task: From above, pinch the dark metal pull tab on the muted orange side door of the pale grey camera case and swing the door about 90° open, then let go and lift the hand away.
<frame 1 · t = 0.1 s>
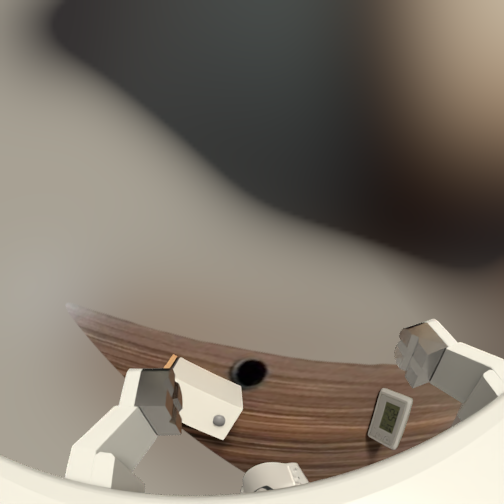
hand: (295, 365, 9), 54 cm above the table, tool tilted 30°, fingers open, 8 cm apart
side door: (158, 384, 51), point 10 cm above the table, hinge at 0.0°
camera case: (201, 387, 61), on the table
digital clock: (380, 411, 63), on the table
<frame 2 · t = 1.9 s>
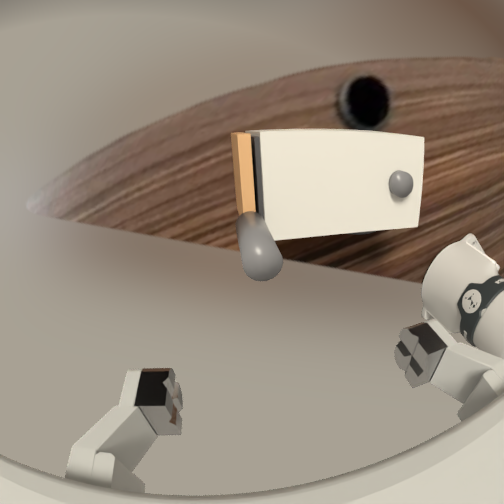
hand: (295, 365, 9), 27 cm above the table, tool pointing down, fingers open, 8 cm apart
side door: (245, 183, 24), point 9 cm above the table, hinge at 0.0°
camera case: (309, 164, 33), on the table
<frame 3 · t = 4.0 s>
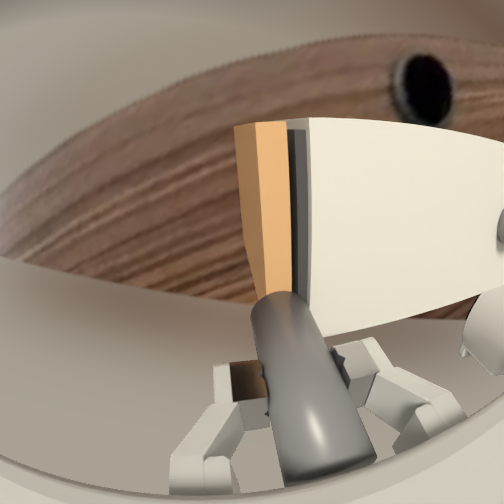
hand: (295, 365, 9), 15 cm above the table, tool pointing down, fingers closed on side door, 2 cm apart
side door: (266, 226, 12), point 10 cm above the table, hinge at 0.0°, touching gripper
camera case: (353, 177, 22), on the table
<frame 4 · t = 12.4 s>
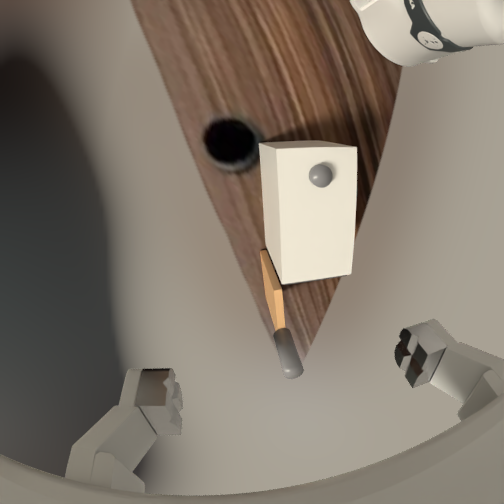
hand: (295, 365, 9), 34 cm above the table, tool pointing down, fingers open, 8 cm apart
side door: (277, 307, 38), point 9 cm above the table, hinge at 86.8°
camera case: (292, 194, 42), on the table
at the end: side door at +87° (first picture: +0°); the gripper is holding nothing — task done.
